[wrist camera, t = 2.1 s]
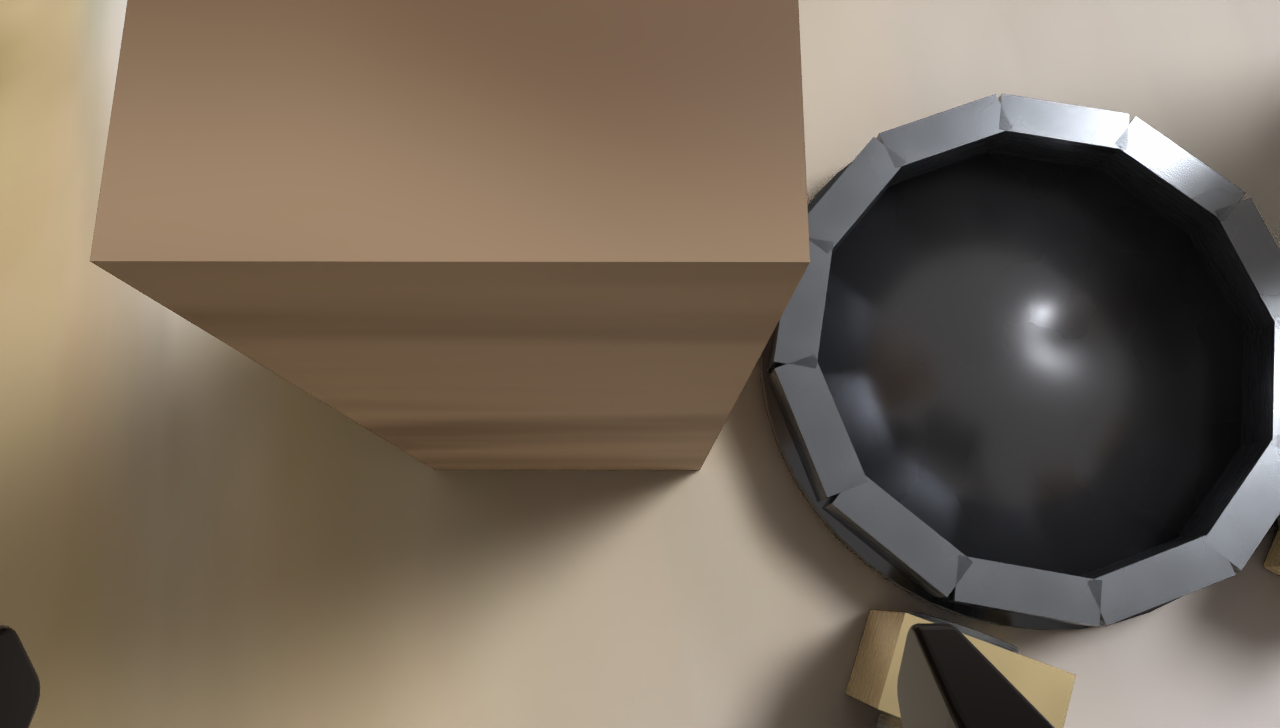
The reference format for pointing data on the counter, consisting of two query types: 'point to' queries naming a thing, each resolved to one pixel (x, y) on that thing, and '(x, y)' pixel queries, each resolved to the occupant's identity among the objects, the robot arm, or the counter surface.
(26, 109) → the counter surface
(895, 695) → the shaft
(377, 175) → the coupling post
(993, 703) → the robot arm
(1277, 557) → the shaft
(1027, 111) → the dark grey shallow bowl
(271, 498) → the counter surface
